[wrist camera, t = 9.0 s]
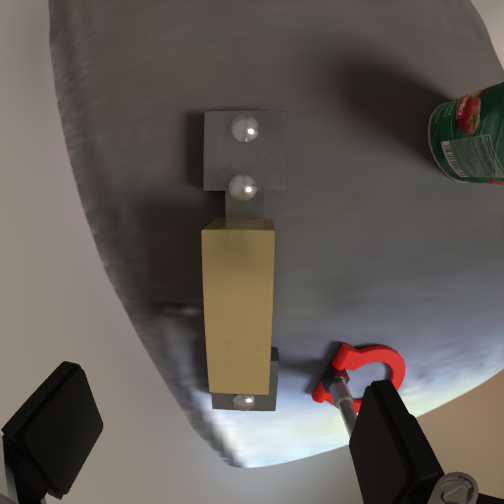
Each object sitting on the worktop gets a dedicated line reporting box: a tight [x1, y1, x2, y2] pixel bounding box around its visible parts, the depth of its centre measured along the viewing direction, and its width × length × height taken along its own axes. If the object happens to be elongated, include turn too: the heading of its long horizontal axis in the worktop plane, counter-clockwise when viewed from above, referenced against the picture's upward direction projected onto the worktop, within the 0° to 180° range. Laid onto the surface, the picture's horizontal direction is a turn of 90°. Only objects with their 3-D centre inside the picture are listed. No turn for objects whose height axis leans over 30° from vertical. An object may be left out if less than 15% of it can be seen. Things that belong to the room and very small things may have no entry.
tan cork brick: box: [202, 218, 275, 395], centre depth 20 cm, size 11×4×6 cm, turn 179°
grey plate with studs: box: [204, 111, 287, 411], centre depth 23 cm, size 26×6×4 cm, turn 179°
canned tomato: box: [428, 82, 504, 185], centre depth 17 cm, size 8×8×11 cm
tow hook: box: [312, 343, 405, 438], centre depth 21 cm, size 8×13×9 cm
